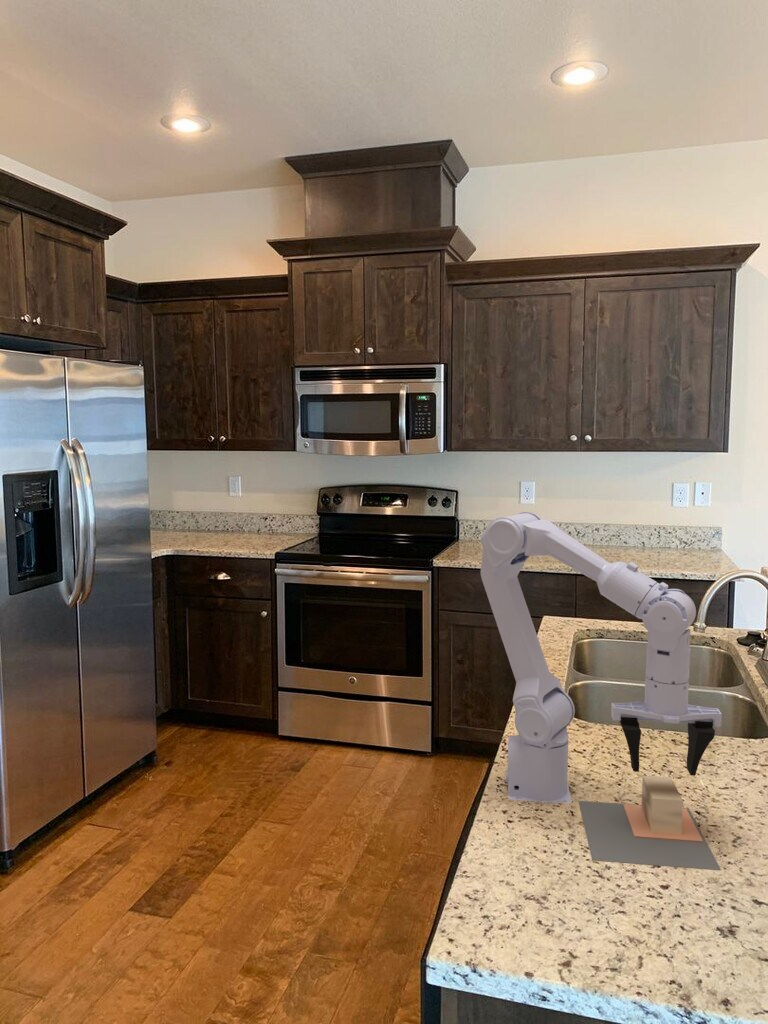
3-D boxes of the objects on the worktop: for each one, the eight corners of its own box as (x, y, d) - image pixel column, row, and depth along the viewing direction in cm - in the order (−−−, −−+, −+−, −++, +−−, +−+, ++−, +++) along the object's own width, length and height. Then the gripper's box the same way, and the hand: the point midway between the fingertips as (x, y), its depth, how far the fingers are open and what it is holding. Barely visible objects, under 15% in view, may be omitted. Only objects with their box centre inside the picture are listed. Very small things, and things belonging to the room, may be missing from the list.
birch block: (641, 807, 111) (642, 775, 110) (669, 809, 110) (670, 777, 110) (651, 832, 104) (652, 798, 103) (681, 834, 103) (682, 800, 103)
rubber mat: (592, 862, 98) (592, 858, 98) (578, 803, 114) (578, 799, 113) (720, 873, 96) (721, 868, 95) (688, 810, 111) (688, 806, 111)
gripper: (618, 684, 102) (614, 779, 103) (730, 690, 100) (725, 787, 101) (610, 668, 109) (607, 757, 110) (715, 673, 107) (710, 764, 108)
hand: (662, 770), depth 106 cm, fingers open, 7 cm apart
